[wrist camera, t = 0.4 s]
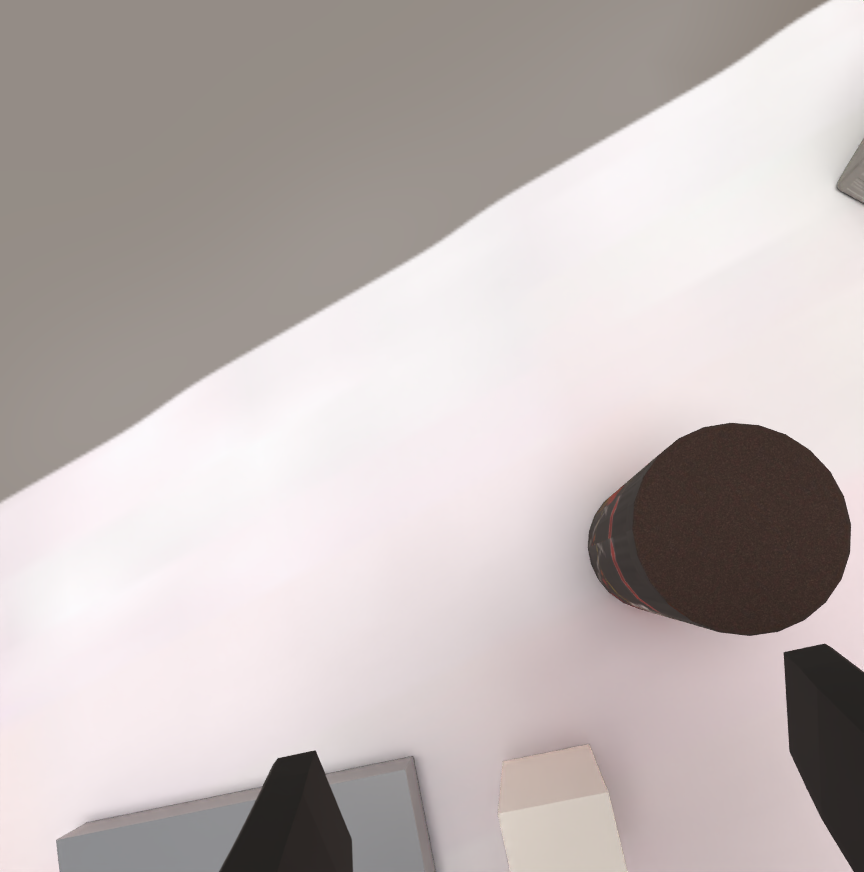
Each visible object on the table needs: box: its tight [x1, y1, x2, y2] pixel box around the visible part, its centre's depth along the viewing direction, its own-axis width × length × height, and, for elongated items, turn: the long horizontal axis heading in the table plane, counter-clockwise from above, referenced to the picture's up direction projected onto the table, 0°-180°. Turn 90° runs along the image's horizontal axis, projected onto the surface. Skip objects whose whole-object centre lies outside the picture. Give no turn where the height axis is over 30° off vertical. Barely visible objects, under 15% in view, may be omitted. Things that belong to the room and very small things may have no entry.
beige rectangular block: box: [498, 744, 628, 872], centre depth 31 cm, size 4×4×8 cm
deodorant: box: [588, 423, 851, 636], centre depth 29 cm, size 6×6×15 cm
